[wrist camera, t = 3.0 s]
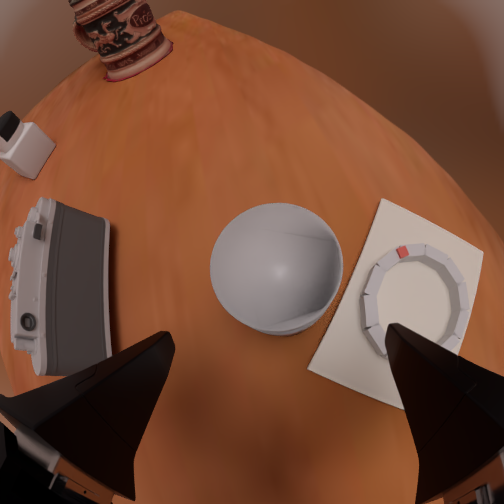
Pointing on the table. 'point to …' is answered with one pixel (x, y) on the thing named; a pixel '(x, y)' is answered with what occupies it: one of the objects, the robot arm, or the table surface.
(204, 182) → the table surface
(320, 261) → the grey round piece
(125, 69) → the beer stein
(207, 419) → the table surface
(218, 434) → the table surface
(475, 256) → the board
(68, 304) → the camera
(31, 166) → the medicine bottle
